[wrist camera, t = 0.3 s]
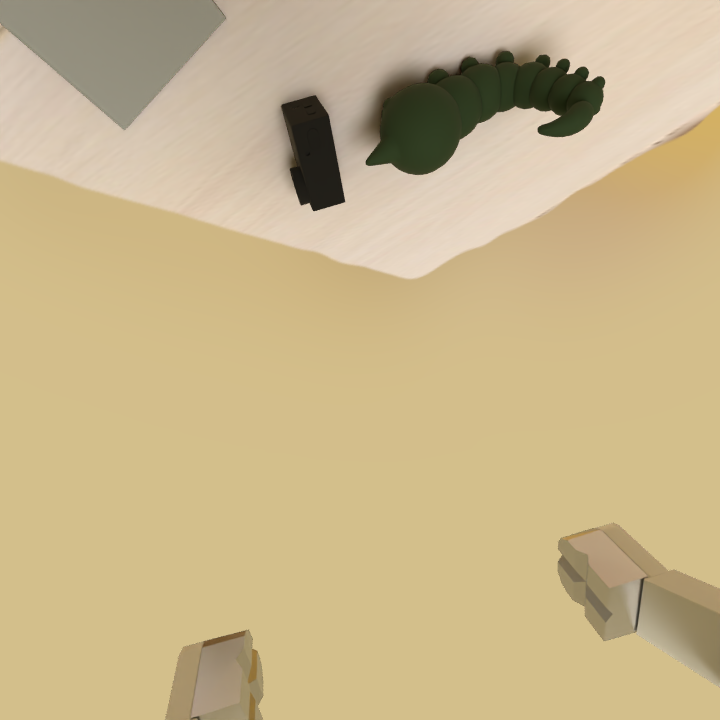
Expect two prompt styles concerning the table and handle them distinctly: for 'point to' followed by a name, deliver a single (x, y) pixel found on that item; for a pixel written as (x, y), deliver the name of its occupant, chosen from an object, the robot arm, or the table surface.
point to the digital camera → (313, 154)
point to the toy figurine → (479, 107)
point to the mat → (113, 44)
